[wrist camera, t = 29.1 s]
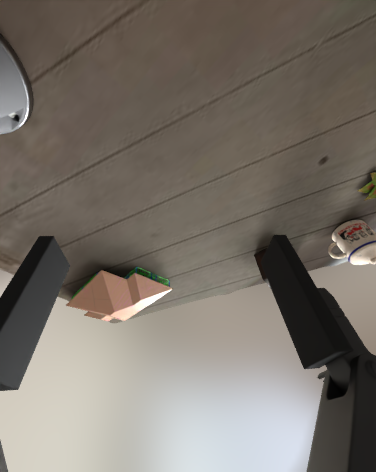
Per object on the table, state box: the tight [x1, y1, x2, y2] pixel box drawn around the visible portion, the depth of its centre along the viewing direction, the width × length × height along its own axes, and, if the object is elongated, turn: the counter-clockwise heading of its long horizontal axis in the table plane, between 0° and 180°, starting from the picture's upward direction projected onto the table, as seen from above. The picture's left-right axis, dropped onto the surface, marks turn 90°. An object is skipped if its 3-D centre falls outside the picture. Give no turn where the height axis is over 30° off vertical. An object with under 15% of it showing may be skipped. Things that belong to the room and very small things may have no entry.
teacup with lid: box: [328, 220, 376, 265], centre depth 55 cm, size 12×9×12 cm
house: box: [67, 267, 173, 321], centre depth 69 cm, size 23×33×8 cm
